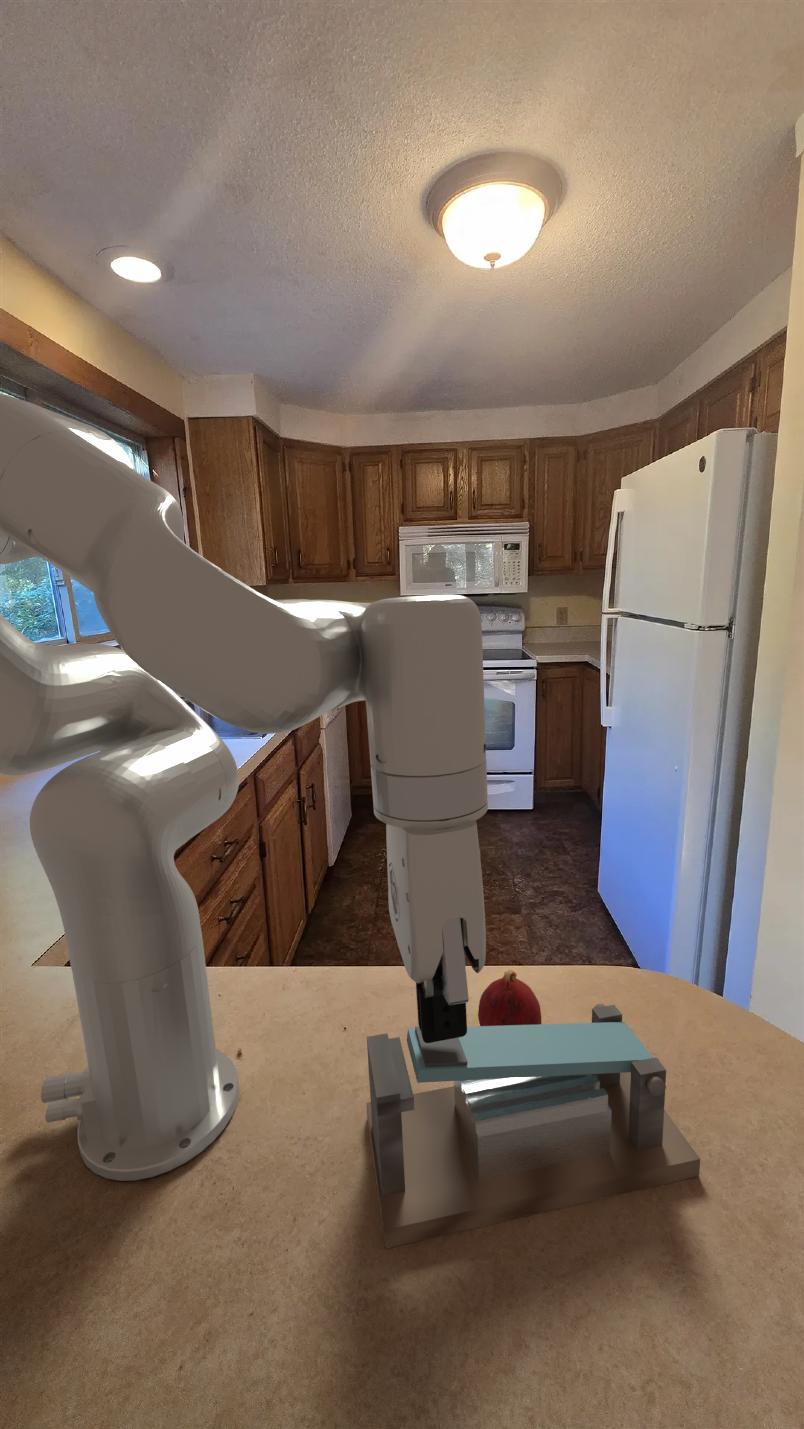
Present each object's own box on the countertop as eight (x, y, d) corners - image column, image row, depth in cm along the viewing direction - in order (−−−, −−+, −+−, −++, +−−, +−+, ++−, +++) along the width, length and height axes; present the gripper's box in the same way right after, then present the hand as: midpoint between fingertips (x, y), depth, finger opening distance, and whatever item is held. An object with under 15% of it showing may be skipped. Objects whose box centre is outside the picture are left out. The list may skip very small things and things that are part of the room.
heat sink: (478, 1181, 41) (477, 1127, 40) (454, 1105, 47) (453, 1057, 46) (610, 1152, 42) (611, 1100, 42) (570, 1082, 49) (570, 1036, 48)
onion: (542, 1077, 51) (542, 997, 50) (476, 1069, 52) (475, 990, 51) (540, 1029, 57) (540, 956, 55) (481, 1023, 58) (479, 951, 56)
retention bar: (417, 1082, 40) (419, 1066, 40) (406, 1040, 44) (408, 1024, 43) (651, 1070, 43) (654, 1055, 43) (622, 1032, 47) (625, 1018, 47)
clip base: (385, 1248, 38) (378, 1127, 36) (367, 1118, 48) (360, 1017, 46) (699, 1176, 42) (706, 1062, 40) (623, 1068, 52) (627, 973, 50)
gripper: (360, 763, 45) (376, 976, 48) (391, 838, 30) (411, 1134, 34) (454, 753, 46) (463, 962, 49) (527, 820, 31) (533, 1108, 35)
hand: (442, 1031), depth 41 cm, fingers closed
